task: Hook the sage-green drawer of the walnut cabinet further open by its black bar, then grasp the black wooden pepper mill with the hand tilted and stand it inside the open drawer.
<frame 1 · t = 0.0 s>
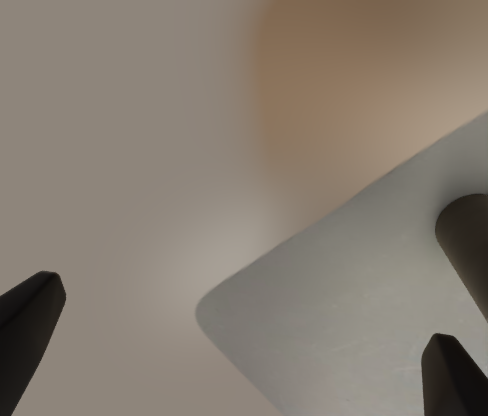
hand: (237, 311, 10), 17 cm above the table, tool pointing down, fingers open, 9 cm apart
pepper mill: (472, 226, 25), on the table
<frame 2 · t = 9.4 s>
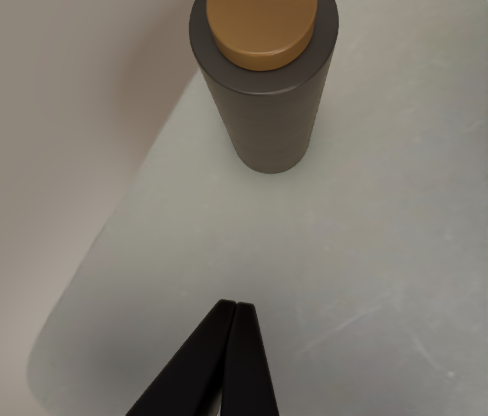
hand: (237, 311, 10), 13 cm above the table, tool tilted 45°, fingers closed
pepper mill: (271, 136, 24), on the table
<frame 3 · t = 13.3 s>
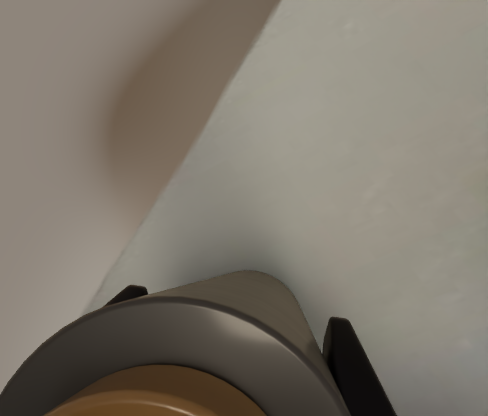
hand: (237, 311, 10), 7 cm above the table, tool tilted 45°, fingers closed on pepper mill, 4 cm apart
pepper mill: (247, 326, 16), on the table, touching gripper
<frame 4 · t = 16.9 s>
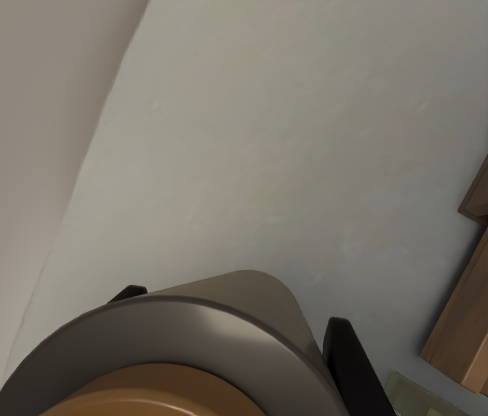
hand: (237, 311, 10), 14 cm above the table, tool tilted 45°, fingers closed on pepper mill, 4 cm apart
pepper mill: (247, 326, 16), point 7 cm above the table, touching gripper
when the fingers open (9 cm above the table, at t = 20.7 s): pepper mill stays where it is, resting on drawer.
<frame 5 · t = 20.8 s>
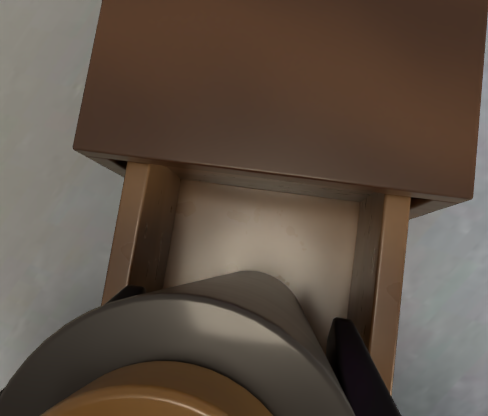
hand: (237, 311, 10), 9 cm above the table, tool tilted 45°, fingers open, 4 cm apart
cabinet: (286, 76, 19), on the table
drawer: (239, 385, 14), point 4 cm above the table, slide at 9.1 cm, touching pepper mill
pepper mill: (248, 326, 16), point 2 cm above the table, touching drawer
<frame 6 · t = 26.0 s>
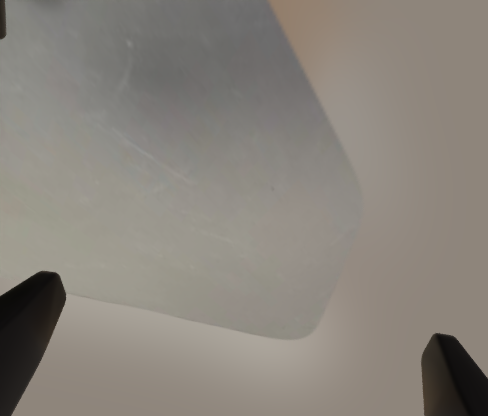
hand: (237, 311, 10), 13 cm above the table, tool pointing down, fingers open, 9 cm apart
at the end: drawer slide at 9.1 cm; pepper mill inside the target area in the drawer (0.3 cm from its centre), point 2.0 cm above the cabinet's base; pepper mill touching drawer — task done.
